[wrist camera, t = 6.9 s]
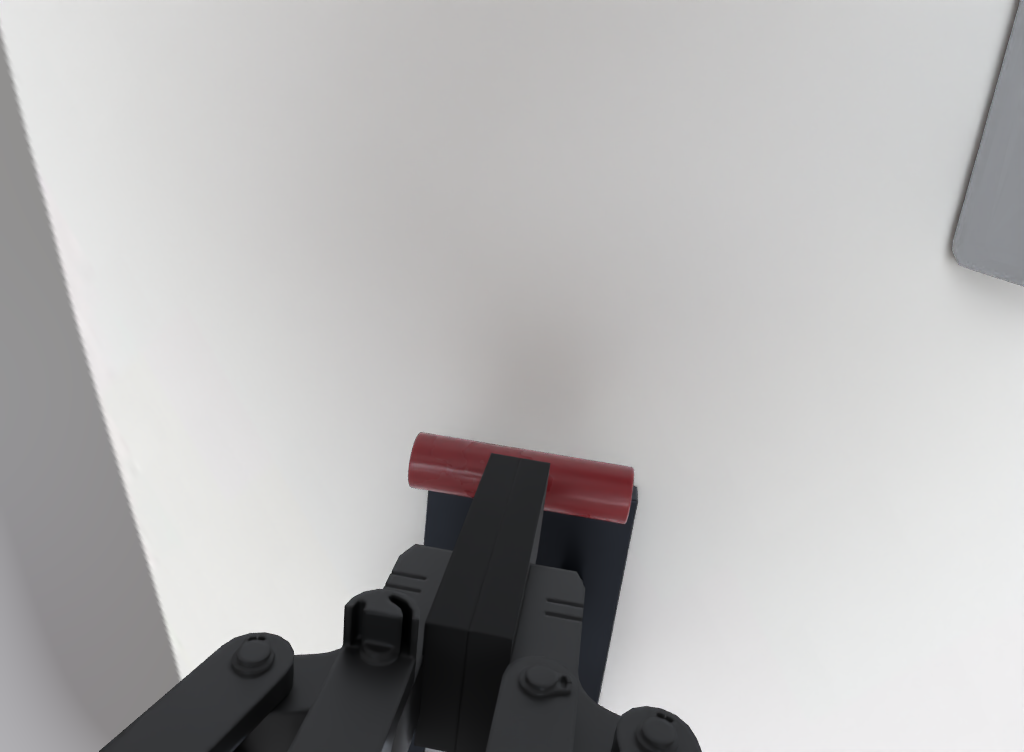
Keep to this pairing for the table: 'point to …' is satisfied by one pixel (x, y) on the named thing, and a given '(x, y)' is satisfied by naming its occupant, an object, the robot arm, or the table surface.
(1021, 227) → the electrical switch
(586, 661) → the bracket
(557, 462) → the lever
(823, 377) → the table surface
